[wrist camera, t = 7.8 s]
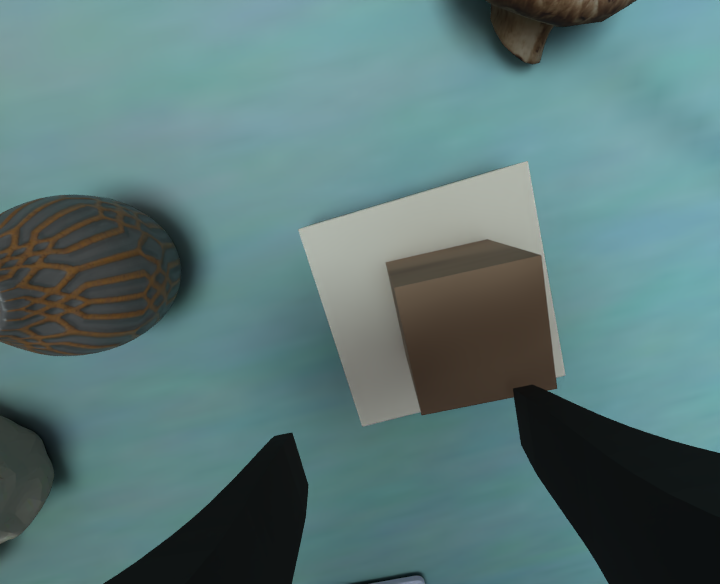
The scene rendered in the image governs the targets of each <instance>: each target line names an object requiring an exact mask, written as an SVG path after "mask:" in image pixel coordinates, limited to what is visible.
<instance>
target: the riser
mask: <svg viewBox="0 0 720 584" xmlns="http://www.w3.org/2000/svg"><path fill="white" fill-rule="evenodd" d="M298 230H299V233H300V236H301V240H302V243H303V246H304V249H305V252H306V255H307V258H308V261H309V264H310V267H311V270H312V273H313V276H314V280H315V283H316V286H317V289H318V292H319V295H320V298H321V301H322V304H323V307H324V310H325V313H326V316H327V319H328V323H329V326H330V329H331V332H332V335H333V338H334V341H335V344H336V347H337V350H338V353H339V356H340V359H341V363H342V366H343V369H344V372H345V375H346V378H347V381H348V384H349V387H350V390H351V393H352V396H353V399H354V403H355V406H356V409H357V412H358V415H359V418H360V421H361V424H362V427H363V426H367V425H371V424H375V423H379V422H383V421H387V420H391V419H395V418H399V417H403V416H407V415H411V414H415V413H418V412H421V411H420V407H419V404H418V400H417V396H416V392H415V388H414V385H413V381H412V377H411V373H410V369H409V366H408V362H407V358H406V354H405V349H404V345H403V340H402V336H401V331H400V327H399V322H398V317H397V313H396V308H395V304H394V299H393V295H392V290H391V285H390V281H389V276H388V272H387V267H386V263H385V262H389V261H394V260H398V259H403V258H407V257H411V256H416V255H420V254H424V253H429V252H433V251H438V250H442V249H446V248H451V247H455V246H460V245H464V244H468V243H473V242H477V241H482V240H486V239H488V240H492V241H495V242H499V243H502V244H505V245H509V246H512V247H516V248H519V249H522V250H526V251H529V252H533V253H536V254H539V255H541V256H542V264H543V273H544V281H545V290H546V298H547V307H548V315H549V324H550V332H551V341H552V349H553V357H554V366H555V374H556V378H557V377H561V376H565V370H564V364H563V359H562V353H561V347H560V341H559V336H558V330H557V324H556V319H555V313H554V307H553V302H552V296H551V290H550V285H549V279H548V273H547V268H546V262H545V256H544V251H543V245H542V239H541V234H540V228H539V222H538V217H537V211H536V205H535V200H534V194H533V188H532V183H531V177H530V171H529V166H528V161H526V162H523V163H519V164H515V165H512V166H508V167H504V168H500V169H497V170H493V171H490V172H487V173H483V174H480V175H477V176H473V177H470V178H467V179H463V180H460V181H457V182H453V183H450V184H446V185H443V186H440V187H436V188H433V189H430V190H426V191H423V192H420V193H416V194H413V195H409V196H406V197H403V198H399V199H396V200H393V201H389V202H386V203H383V204H379V205H376V206H373V207H369V208H366V209H362V210H359V211H356V212H352V213H349V214H346V215H342V216H339V217H336V218H332V219H329V220H326V221H322V222H319V223H315V224H312V225H309V226H306V227H303V228H301V229H298Z"/></svg>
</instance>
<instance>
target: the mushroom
mask: <svg viewBox="0 0 720 584" xmlns="http://www.w3.org/2000/svg"><path fill="white" fill-rule="evenodd" d="M485 1H487V2H488V3H490V4H491V16H490V19H491V22H492V25H493V27H494V30H495V32H496V34H497V35H498V37H499V39H500V41H501V42H502V44H503V45H504V46H505V47H506V48H507V49H508V50H509V51H510V52H511V53H512V54H513V55H515V56H516V57H518V58H519V59H520V60H522V61H523V62H525V63H529V64H536V63H539V62H540V60H541V56H542V52H543V48H544V45H545V42H546V40H547V37H548V35H549V33H550V31H551V30H552V28H553V27H554V26H556V27H567V26H574V25H581V24H589V23H596V22H602V21H604V20H606V19H607V18H609V17H611V16H612V15H614V14H615V13H617V12H619V11H620V10H622V9H624V8H625V7H627V6H629V5H630V4H632V3H633V2H635V1H636V0H485Z"/></svg>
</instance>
